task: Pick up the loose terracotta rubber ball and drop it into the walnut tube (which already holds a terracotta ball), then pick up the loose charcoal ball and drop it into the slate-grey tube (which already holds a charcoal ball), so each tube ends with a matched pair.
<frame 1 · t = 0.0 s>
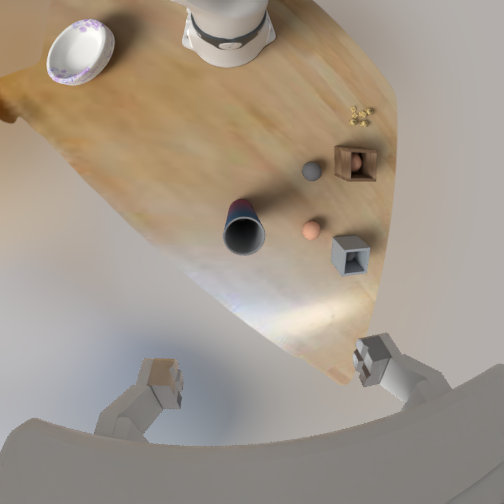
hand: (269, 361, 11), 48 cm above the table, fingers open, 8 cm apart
white purple floral bowl: (90, 56, 39), on the table
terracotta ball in: (348, 161, 54), resting on walnut tube
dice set: (357, 117, 51), on the table
cup: (240, 210, 58), on the table
slate tube: (343, 248, 63), on the table
walnut tube: (347, 160, 54), on the table
charcoal ball: (309, 170, 55), on the table
terracotta ball: (309, 227, 60), on the table
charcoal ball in: (344, 249, 63), resting on slate tube
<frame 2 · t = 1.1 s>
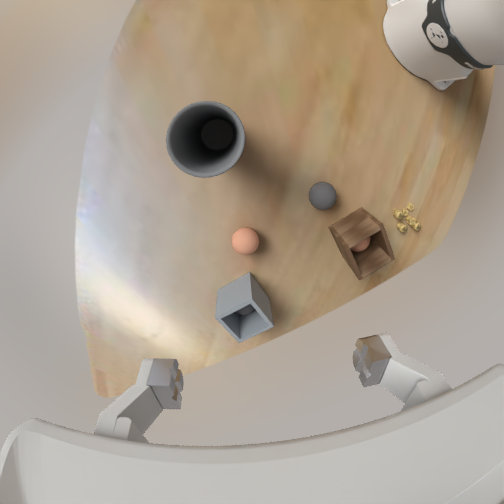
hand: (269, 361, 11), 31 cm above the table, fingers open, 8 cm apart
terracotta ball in: (353, 233, 42), resting on walnut tube
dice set: (402, 217, 42), on the table
cup: (217, 134, 35), on the table
slate tube: (243, 294, 47), on the table
walnut tube: (352, 232, 42), on the table
charcoal ball: (318, 192, 39), on the table
terracotta ball: (244, 235, 42), on the table
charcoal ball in: (243, 295, 46), resting on slate tube
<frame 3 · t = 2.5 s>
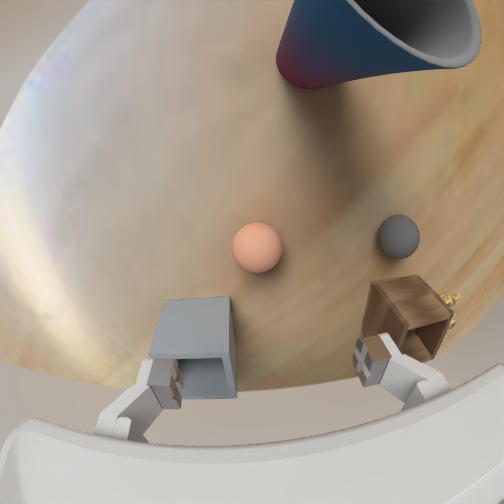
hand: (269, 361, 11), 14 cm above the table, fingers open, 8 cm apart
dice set: (441, 305, 30), on the table
cup: (306, 61, 17), on the table
slate tube: (202, 323, 27), on the table
walnut tube: (390, 302, 28), on the table
charcoal ball: (389, 228, 24), on the table
terracotta ball: (255, 238, 24), on the table
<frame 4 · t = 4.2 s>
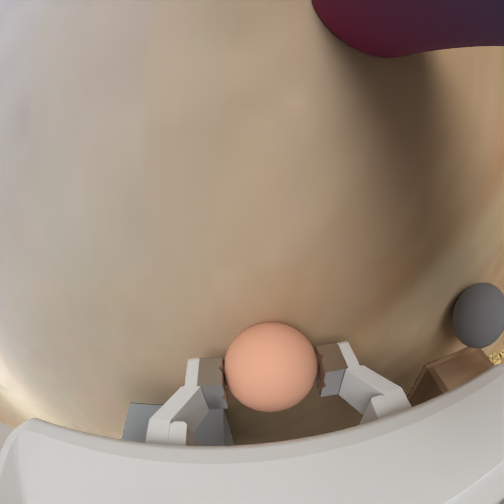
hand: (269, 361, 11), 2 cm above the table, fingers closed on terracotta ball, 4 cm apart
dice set: (486, 362, 19), on the table
cup: (366, 9, 7), on the table
slate tube: (186, 427, 16), on the table
walnut tube: (438, 378, 17), on the table
charcoal ball: (462, 298, 13), on the table
terracotta ball: (265, 337, 13), on the table, touching gripper
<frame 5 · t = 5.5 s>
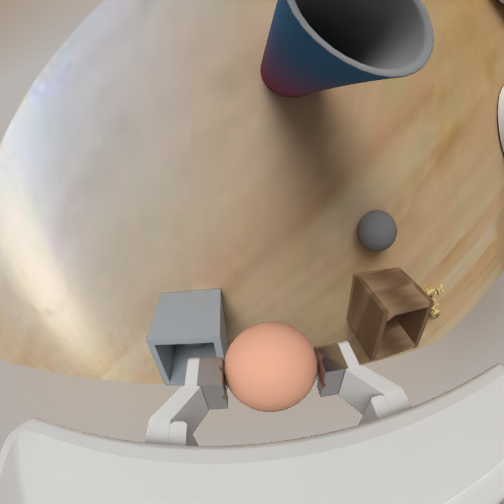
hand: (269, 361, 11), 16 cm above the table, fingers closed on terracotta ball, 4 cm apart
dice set: (425, 296, 33), on the table
cup: (288, 71, 20), on the table
slate tube: (195, 315, 29), on the table
walnut tube: (373, 293, 30), on the table
charcoal ball: (368, 223, 26), on the table
terracotta ball: (265, 337, 13), point 14 cm above the table, touching gripper
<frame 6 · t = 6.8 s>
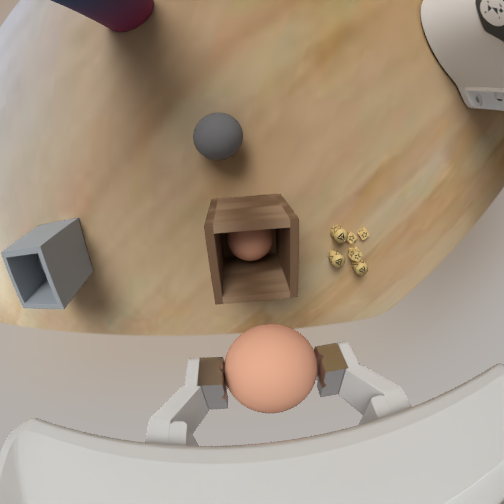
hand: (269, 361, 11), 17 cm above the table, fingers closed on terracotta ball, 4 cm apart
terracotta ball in: (248, 230, 26), resting on walnut tube
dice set: (343, 244, 29), on the table
cup: (130, 12, 16), on the table
slate tube: (64, 248, 25), on the table
walnut tube: (248, 228, 26), on the table
charcoal ball: (219, 136, 22), on the table
terracotta ball: (265, 338, 13), point 15 cm above the table, touching gripper
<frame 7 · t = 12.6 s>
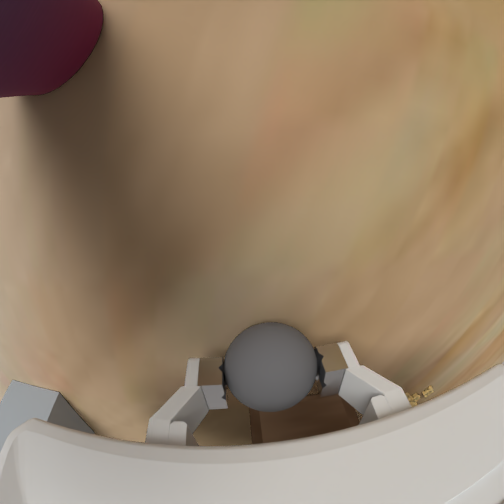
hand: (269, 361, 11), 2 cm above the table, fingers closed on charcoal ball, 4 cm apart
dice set: (402, 399, 19), on the table
cup: (56, 42, 6), on the table
slate tube: (52, 408, 16), on the table
walnut tube: (296, 420, 17), on the table
charcoal ball: (265, 337, 13), on the table, touching gripper
when the fingers open (10 cm above the table, at t = 16.7 s): charcoal ball drops 3 cm and tips over, resting on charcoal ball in, slate tube.
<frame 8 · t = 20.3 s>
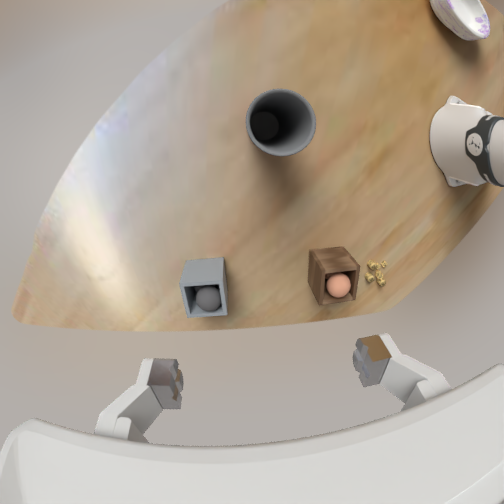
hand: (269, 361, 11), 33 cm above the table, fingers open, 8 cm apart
white purple floral bowl: (445, 12, 26), on the table
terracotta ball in: (326, 265, 47), resting on walnut tube, tilted 17°, touching terracotta ball
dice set: (373, 269, 50), on the table
cup: (263, 125, 37), on the table
slate tube: (207, 275, 47), on the table
walnut tube: (325, 264, 48), on the table
charcoal ball: (203, 289, 43), point 5 cm above the table, tilted 37°, touching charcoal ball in, slate tube
terracotta ball: (335, 273, 43), point 5 cm above the table, tilted 51°, touching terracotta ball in, walnut tube
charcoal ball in: (207, 276, 46), resting on slate tube, tilted 8°, touching charcoal ball
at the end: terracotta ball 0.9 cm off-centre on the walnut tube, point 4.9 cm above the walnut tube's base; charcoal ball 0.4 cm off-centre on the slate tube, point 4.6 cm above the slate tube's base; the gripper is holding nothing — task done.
